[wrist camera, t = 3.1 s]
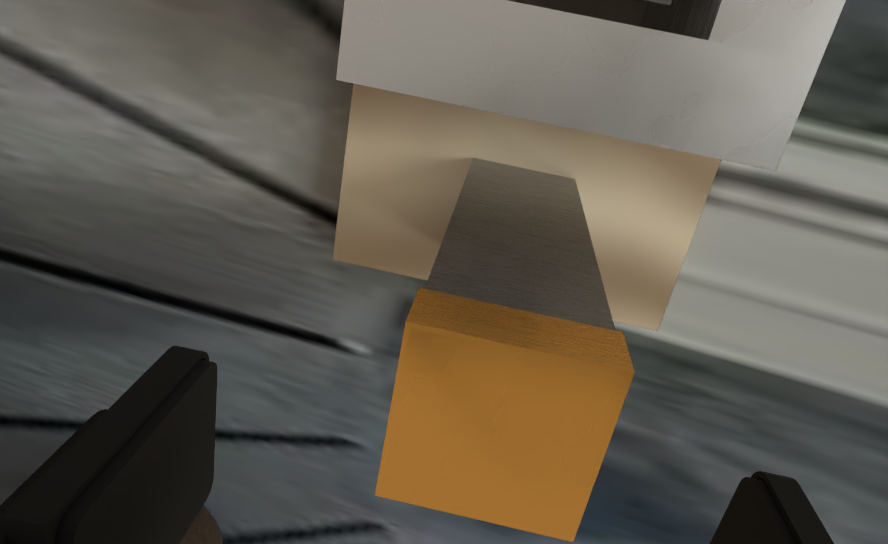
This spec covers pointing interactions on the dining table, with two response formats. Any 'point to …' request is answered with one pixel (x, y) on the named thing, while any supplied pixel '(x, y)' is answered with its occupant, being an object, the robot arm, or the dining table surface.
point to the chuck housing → (605, 66)
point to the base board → (527, 146)
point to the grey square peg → (508, 362)
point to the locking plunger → (657, 2)
